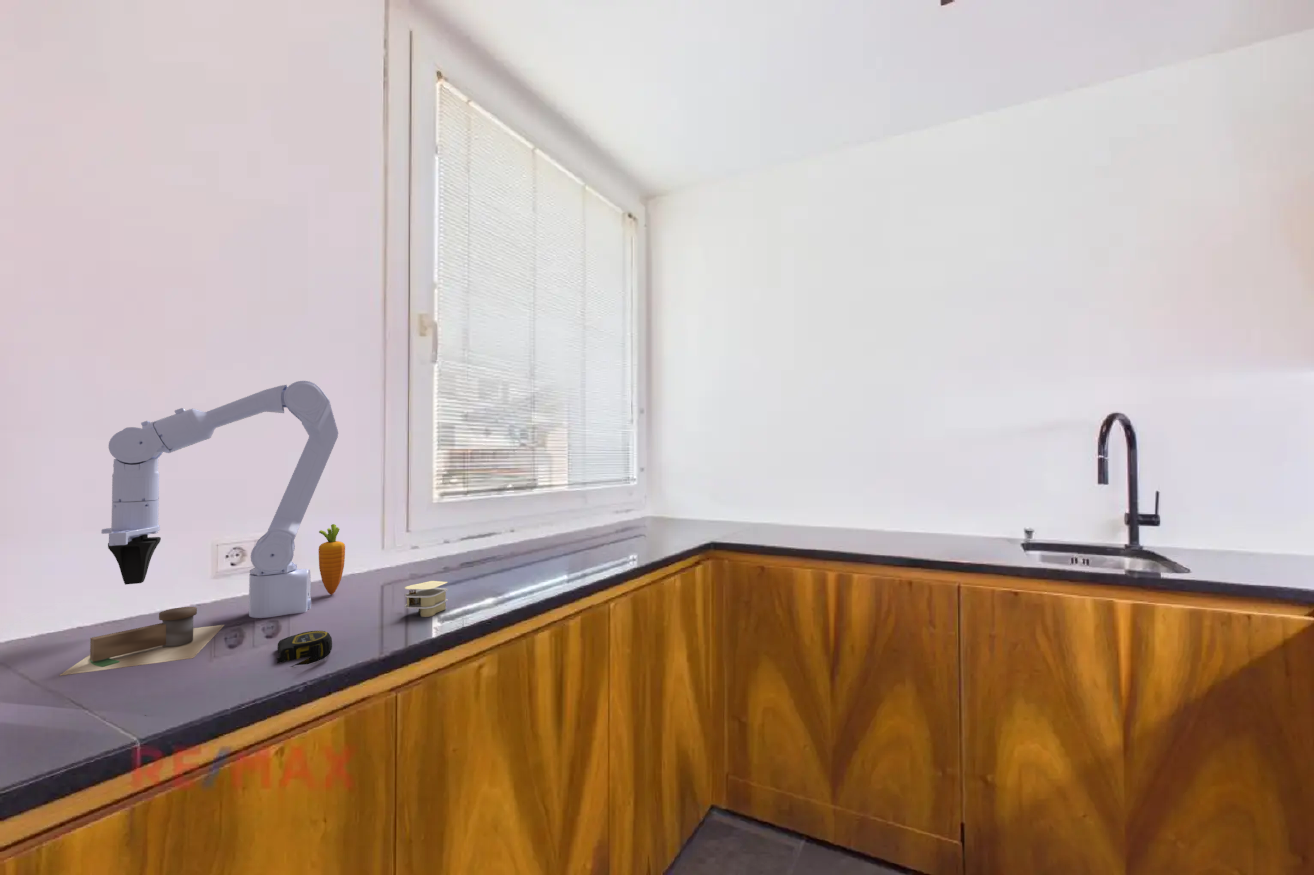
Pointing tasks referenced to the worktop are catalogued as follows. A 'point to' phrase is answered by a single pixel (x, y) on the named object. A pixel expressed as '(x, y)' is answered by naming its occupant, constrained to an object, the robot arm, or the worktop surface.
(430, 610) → the stacked layers on plate
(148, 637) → the dial pointer
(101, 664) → the dial board
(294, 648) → the tape measure
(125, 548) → the robot arm
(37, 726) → the worktop surface
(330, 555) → the carrot
